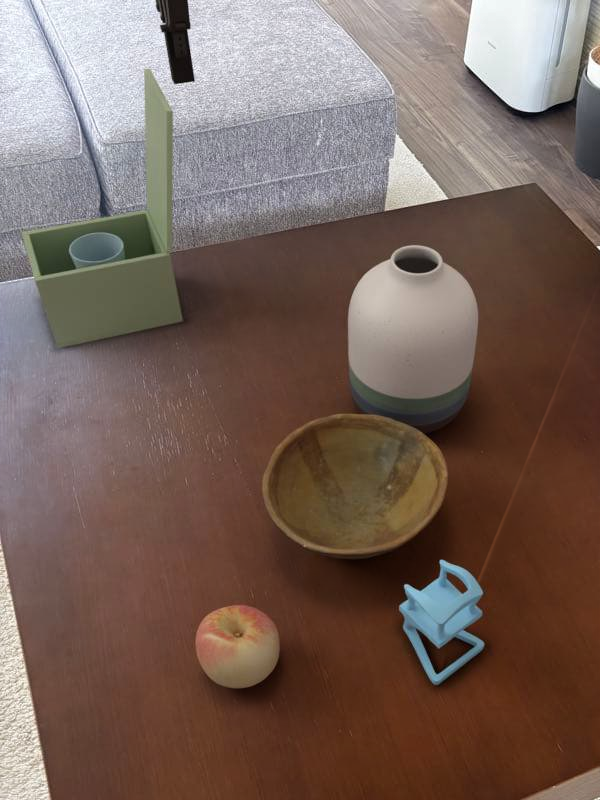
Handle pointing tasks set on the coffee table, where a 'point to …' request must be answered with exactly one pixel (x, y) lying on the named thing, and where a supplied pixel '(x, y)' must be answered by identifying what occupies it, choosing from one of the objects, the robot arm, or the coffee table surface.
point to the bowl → (354, 485)
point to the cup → (96, 250)
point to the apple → (237, 646)
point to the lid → (159, 158)
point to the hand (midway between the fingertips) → (183, 80)
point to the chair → (443, 616)
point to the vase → (412, 339)
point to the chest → (104, 280)
